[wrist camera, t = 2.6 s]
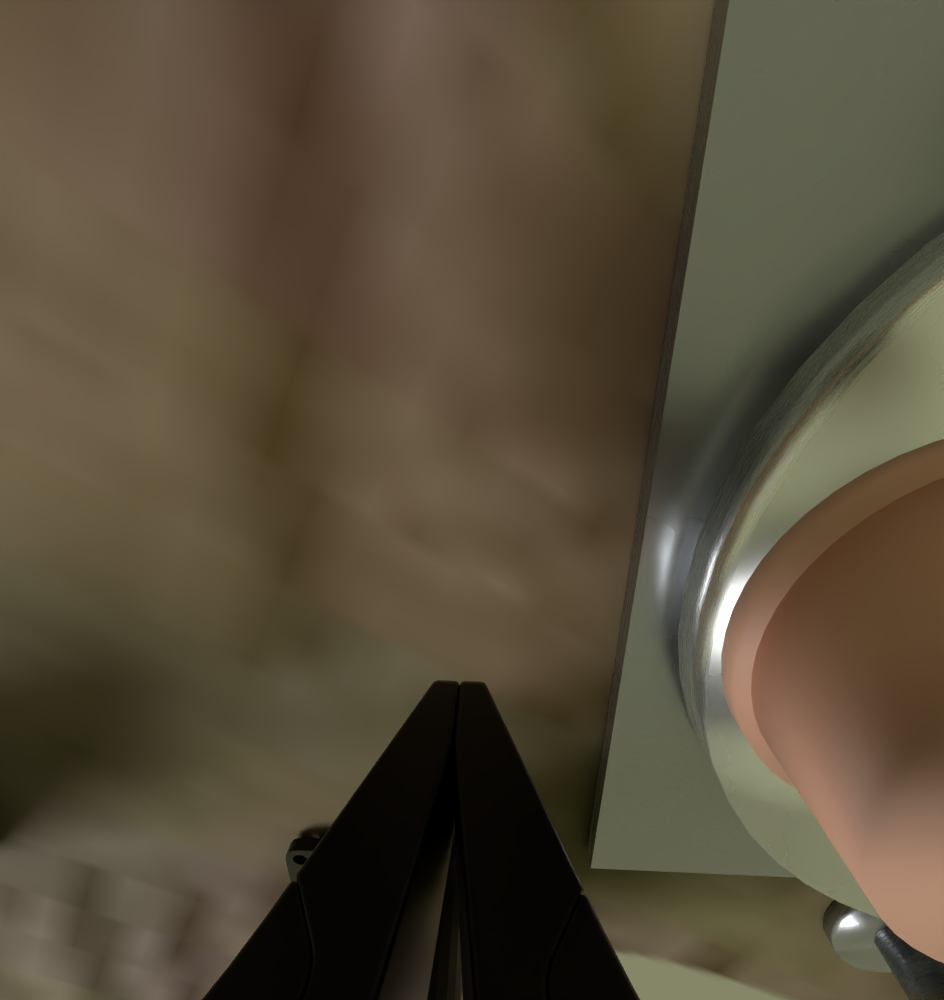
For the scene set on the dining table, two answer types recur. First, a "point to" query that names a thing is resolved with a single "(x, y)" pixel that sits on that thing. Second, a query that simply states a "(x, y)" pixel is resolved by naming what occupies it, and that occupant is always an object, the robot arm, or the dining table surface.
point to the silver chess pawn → (882, 951)
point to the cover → (857, 681)
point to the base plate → (757, 345)
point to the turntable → (786, 499)
